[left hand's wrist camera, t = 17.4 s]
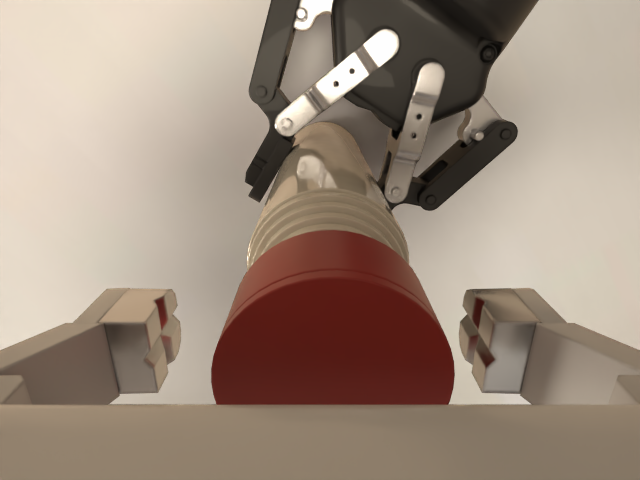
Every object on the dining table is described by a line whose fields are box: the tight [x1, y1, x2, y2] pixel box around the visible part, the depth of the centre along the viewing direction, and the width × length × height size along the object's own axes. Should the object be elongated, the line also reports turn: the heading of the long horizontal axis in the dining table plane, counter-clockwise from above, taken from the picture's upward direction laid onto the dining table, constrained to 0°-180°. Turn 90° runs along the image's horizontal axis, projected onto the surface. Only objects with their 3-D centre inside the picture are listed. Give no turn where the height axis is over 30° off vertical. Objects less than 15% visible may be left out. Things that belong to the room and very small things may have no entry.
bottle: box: [247, 122, 409, 271], centre depth 19 cm, size 5×5×22 cm
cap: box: [211, 230, 455, 405], centre depth 9 cm, size 5×5×2 cm
